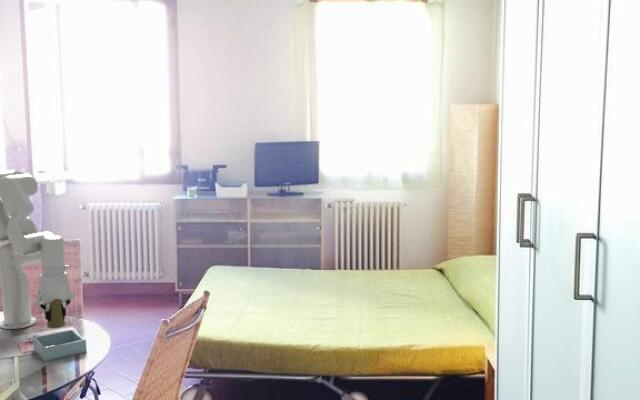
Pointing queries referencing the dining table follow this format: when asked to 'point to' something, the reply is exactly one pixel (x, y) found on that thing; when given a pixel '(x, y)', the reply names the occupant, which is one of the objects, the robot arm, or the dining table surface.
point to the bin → (59, 345)
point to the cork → (56, 314)
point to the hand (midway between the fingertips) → (55, 319)
